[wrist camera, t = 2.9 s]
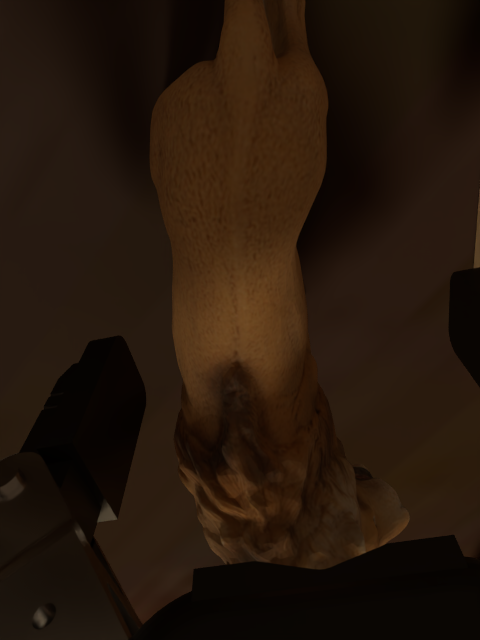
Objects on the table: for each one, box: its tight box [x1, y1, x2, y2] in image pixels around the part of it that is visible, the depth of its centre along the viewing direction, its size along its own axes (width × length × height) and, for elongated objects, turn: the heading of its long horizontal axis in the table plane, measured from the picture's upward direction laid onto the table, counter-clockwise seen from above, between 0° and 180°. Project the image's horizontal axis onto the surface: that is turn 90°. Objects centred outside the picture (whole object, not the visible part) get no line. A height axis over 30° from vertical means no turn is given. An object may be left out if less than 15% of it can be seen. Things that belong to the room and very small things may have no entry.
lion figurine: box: [150, 0, 410, 569], centre depth 10 cm, size 15×5×9 cm, turn 13°
